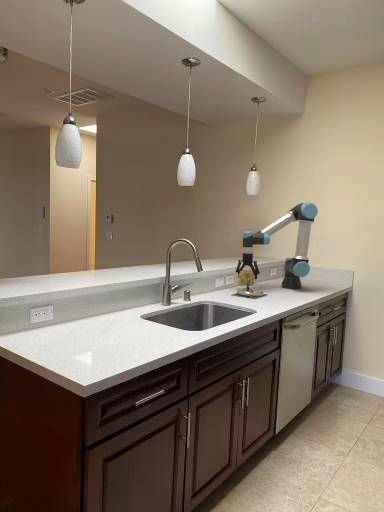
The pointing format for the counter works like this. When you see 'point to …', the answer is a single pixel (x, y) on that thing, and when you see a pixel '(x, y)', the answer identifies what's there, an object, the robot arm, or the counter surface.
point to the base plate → (248, 296)
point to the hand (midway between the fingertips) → (247, 282)
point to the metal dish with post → (249, 291)
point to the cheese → (245, 277)
